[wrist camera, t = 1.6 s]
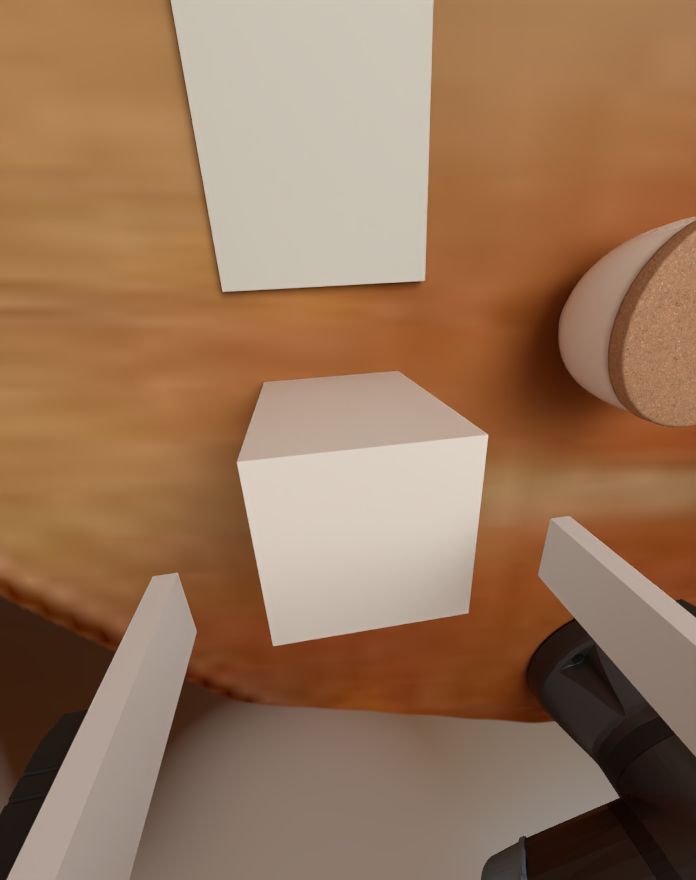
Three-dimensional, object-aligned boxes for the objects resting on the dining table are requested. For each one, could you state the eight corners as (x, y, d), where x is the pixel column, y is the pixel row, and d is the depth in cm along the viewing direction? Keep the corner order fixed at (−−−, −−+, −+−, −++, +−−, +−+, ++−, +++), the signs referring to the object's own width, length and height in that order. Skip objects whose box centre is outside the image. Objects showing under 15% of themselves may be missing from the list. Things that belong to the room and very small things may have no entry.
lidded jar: (514, 270, 22) (651, 255, 14) (669, 202, 22) (908, 142, 14) (539, 415, 27) (656, 471, 18) (669, 358, 26) (850, 388, 18)
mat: (421, 281, 22) (424, 280, 21) (224, 291, 20) (222, 291, 20) (430, -47, 16) (435, -59, 16) (162, -62, 15) (157, -75, 14)
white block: (397, 485, 27) (468, 613, 16) (281, 499, 26) (273, 646, 15) (397, 370, 24) (488, 434, 13) (263, 382, 23) (236, 461, 12)
